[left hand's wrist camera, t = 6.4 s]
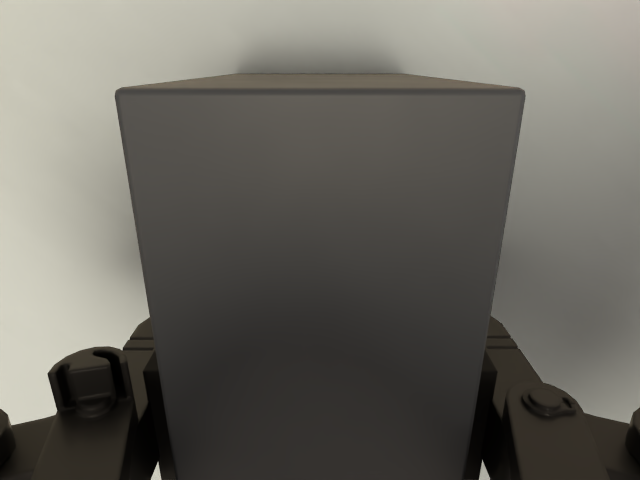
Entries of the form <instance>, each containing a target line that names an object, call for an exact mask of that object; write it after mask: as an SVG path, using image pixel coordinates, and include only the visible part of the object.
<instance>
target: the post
mask: <svg viewBox="0 0 640 480" xmlns="http://www.w3.org/2000/svg"><path fill="white" fill-rule="evenodd" d="M115 100H116V106H117V112H118V119H119V125H120V131H121V138H122V144H123V150H124V156H125V163H126V169H127V175H128V181H129V188H130V194H131V200H132V207H133V213H134V219H135V225H136V232H137V238H138V244H139V250H140V257H141V263H142V269H143V275H144V282H145V288H146V294H147V301H148V307H149V313H150V319H151V326H152V332H153V338H154V344H155V351H156V357H157V363H158V369H159V376H160V382H161V388H162V395H163V401H164V407H165V413H166V420H167V426H168V432H169V438H170V445H171V451H172V457H173V463H174V470H175V476H176V480H464V476H465V470H466V464H467V458H468V451H469V445H470V439H471V433H472V427H473V420H474V414H475V408H476V402H477V395H478V389H479V383H480V377H481V370H482V364H483V358H484V352H485V345H486V339H487V333H488V327H489V320H490V314H491V308H492V302H493V295H494V289H495V283H496V277H497V270H498V264H499V258H500V252H501V245H502V239H503V233H504V227H505V220H506V214H507V208H508V202H509V195H510V189H511V183H512V177H513V170H514V164H515V158H516V152H517V146H518V139H519V133H520V127H521V121H522V114H523V108H524V102H525V91H524V90H522V89H520V88H517V87H509V86H500V85H492V84H484V83H475V82H467V81H459V80H450V79H442V78H434V77H425V76H417V75H409V74H231V75H223V76H214V77H206V78H198V79H189V80H181V81H173V82H164V83H156V84H148V85H139V86H131V87H123V88H120V89H118V90H116V92H115Z"/></svg>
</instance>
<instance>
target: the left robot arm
mask: <svg viewBox="0 0 640 480" xmlns="http://www.w3.org/2000/svg"><path fill="white" fill-rule="evenodd" d="M48 378H49V381H50V385H51V389H52V392H53V396H54V400H55V403H56V407H57V413H56V415H54V416H51V417H47V418H43V419H39V420H34V421H30V422H25V423H21V424H16V425H12V426H11V424H10V421H9V417H8V414H6V413H5V412H4V411H3V410H1V409H0V480H150V479H151V477H152V475H153V472H154V470H155V467H156V465H157V462H159V468H160V473H161V479H162V480H176V476H175V470H174V463H173V457H172V451H171V445H170V438H169V432H168V426H167V420H166V413H165V407H164V401H163V395H162V388H161V382H160V376H159V369H158V363H157V357H156V351H155V344H154V338H153V332H152V326H151V319H150V318H148V319H147V320H145V321H144V322H142V323H141V324H139V325H138V327H137V328H136V330H135V331H134V333H133V334H132V335H131V337H130V340H128V341H127V343H126V344H125V346H124V347H123V351H121V350H120V349H117V348H113V347H93V348H89V349H85V350H80V351H78V352H76V353H73V354H71V355H69V356H66V357H65V358H64V359H62V360H61V361H59V362H58V363H56V364H55V365H54V366H53V367H52V369H51V370H50V371H49V372H48ZM482 460H483V462H484V464H485V467H486V469H487V472H488V474H489V477H490V480H640V408H638V409H637V410H636V411H635V412H634V413H633V415H632V418H631V422H630V424H628V423H623V422H619V421H614V420H610V419H605V418H601V417H596V416H593V415H589V414H586V413H584V412H583V410H582V409H581V407H580V406H579V404H578V403H577V401H576V400H575V399H574V398H572V397H571V396H570V395H569V394H567V393H566V392H565V391H563V390H561V389H558V388H556V387H554V386H552V385H549V384H545V383H543V382H542V381H541V379H540V378H539V376H538V375H537V373H536V372H535V371H534V369H533V368H532V366H531V365H530V363H529V362H528V360H527V359H526V358H525V356H524V355H523V353H522V352H521V350H520V349H518V346H517V345H516V343H515V342H514V340H513V339H511V338H510V335H509V333H508V332H507V330H506V329H505V328H504V326H503V325H502V323H500V322H499V321H497V320H496V319H494V318H493V317H491V316H490V320H489V327H488V333H487V339H486V345H485V352H484V358H483V364H482V370H481V377H480V383H479V389H478V395H477V402H476V408H475V414H474V420H473V427H472V433H471V439H470V445H469V451H468V458H467V464H466V470H465V476H464V480H479V475H480V469H481V463H482Z"/></svg>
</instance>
